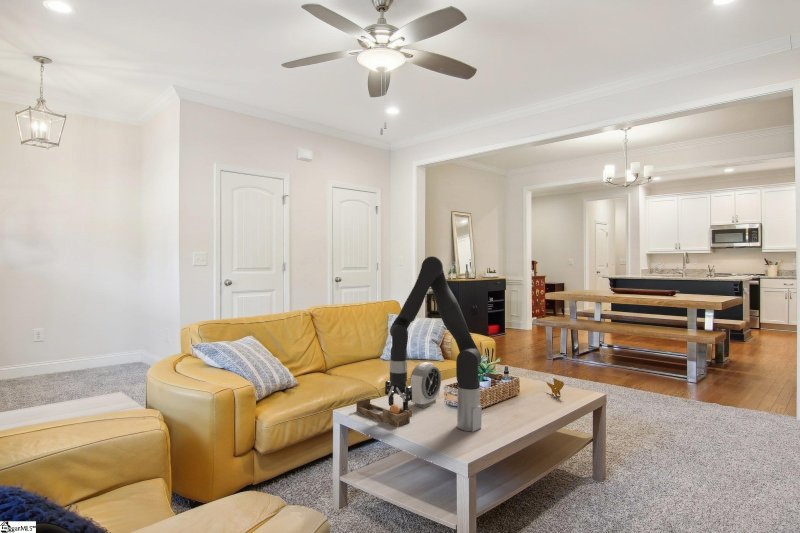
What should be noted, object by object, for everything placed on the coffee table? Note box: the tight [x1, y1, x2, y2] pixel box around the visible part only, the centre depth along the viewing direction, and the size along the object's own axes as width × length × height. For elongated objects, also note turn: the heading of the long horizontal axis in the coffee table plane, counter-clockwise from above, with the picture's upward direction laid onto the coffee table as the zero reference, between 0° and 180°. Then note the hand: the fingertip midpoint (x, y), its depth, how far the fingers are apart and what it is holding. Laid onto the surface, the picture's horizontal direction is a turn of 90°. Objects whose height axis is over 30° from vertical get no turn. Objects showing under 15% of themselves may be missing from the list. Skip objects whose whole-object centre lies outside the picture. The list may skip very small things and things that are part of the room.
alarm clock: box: [409, 361, 442, 409], centre depth 218 cm, size 18×8×20 cm, turn 143°
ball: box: [388, 403, 400, 414], centre depth 194 cm, size 4×4×4 cm
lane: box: [355, 397, 411, 428], centre depth 199 cm, size 27×7×5 cm, turn 45°
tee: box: [407, 408, 413, 417], centre depth 202 cm, size 4×4×3 cm
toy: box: [545, 377, 565, 397], centre depth 235 cm, size 3×16×10 cm, turn 14°
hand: (398, 407), depth 192 cm, fingers open, 8 cm apart
